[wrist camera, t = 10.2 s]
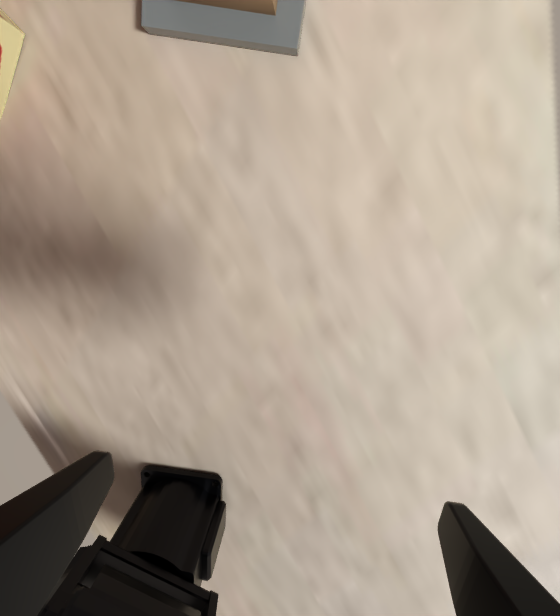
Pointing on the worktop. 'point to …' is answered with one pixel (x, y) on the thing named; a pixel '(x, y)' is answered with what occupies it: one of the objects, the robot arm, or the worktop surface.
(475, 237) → the worktop surface
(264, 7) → the walnut block
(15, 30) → the milk carton
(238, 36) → the slate coaster
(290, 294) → the worktop surface
